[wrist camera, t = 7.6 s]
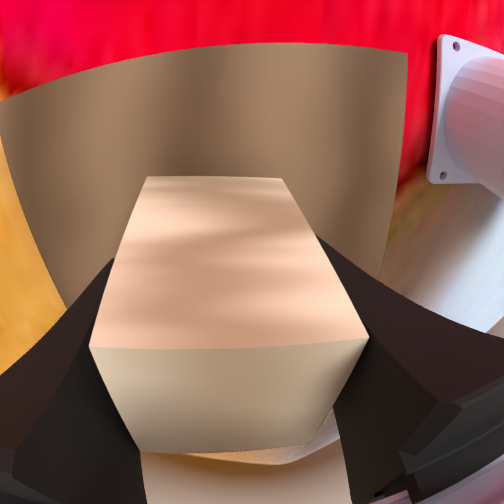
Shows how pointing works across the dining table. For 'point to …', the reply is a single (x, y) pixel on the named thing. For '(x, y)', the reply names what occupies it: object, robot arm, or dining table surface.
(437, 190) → the dining table surface
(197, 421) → the maple block
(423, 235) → the dining table surface
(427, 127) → the dining table surface
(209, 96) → the taupe rectangular slab
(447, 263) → the dining table surface
